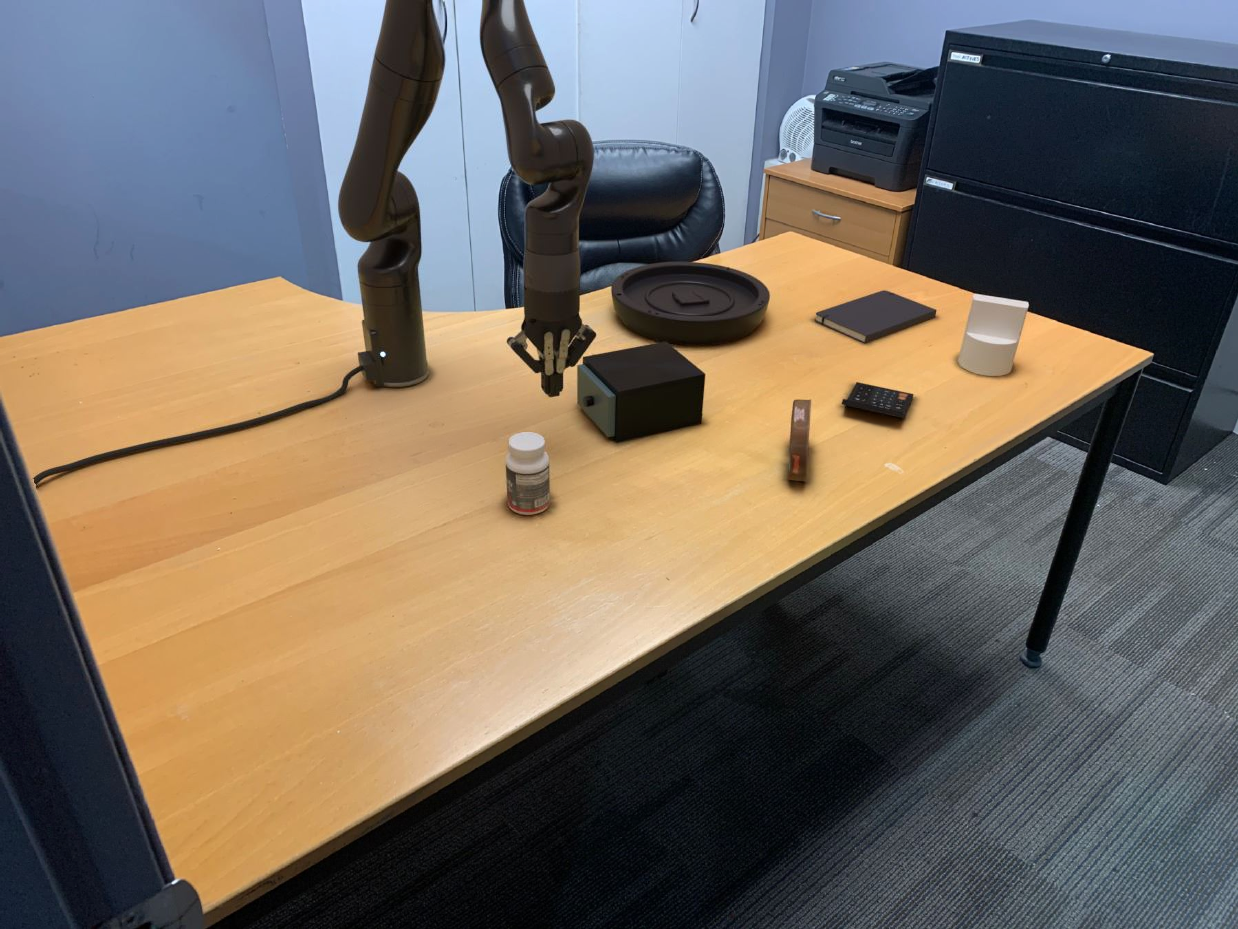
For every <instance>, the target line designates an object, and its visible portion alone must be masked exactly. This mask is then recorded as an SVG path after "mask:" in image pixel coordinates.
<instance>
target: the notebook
mask: <svg viewBox="0 0 1238 929" xmlns="http://www.w3.org/2000/svg"><path fill="white" fill-rule="evenodd" d="M937 311H938V310H937V309H935V308H934V307H931V306H928V305H926V304H923V303H920V302H917V301H915V300H912V299H910V298H907V297H904V296H902V295H899V294H897V293H895V292H891V291H889V290H886V289H885V290H879V291H877V292H873V293H870V294H867V295H864V296H862V297H858V298H855V299H852V300H849V301H846V302H842V303H840V304H838V305H835V306H831V307H829V308H825V309H823V310H820V311H817V312H815V315H816V318H815V319H814V321H815V323H818V324H820V325H822V326H825V327H827V328H830V329H831V330H834V331H836V332H839V333H841V334H843V335H845V336H847V337H850V338H851V339H855V340H856V341H859V342H861V343H864V344H866V343H870V342H872V341H875V340H878V339H880V338H883V337H885V336H888V335H890V334H893V333H896V332H899V331H901V330H904V329H907V328H910V327H912V326H915V325H917V324H920V323H923V322H925V321H928V320H931V319H934V318H936V315H937Z"/></svg>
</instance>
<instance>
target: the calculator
mask: <svg viewBox="0 0 1238 929" xmlns="http://www.w3.org/2000/svg"><path fill="white" fill-rule="evenodd" d="M913 399H914V393H910V392H905V391H900V390H897V389H892V388H887V387H882V386H877V385H872V384H869V383H863V382H860V381H859V382H858V381H856V382H855V384H854V386H853V387H852V389H851V391H850V393H849V395H848V397H847V399H846V398H842V401H841V405H843V406H847V407H852V408H855V409H859V410H860V409H861V410H865V411H870V412H874V413H879V414H883V415H887V416H893V417H896V418H900V419H905V418H906V416H907V414H908V411H909V408H910V406H911V404H912V401H913Z"/></svg>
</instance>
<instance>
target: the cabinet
mask: <svg viewBox="0 0 1238 929" xmlns="http://www.w3.org/2000/svg"><path fill="white" fill-rule="evenodd" d="M582 364H585V365H586V366H587V367H588V368H589V369H590V370H591V371H592V372H593V373H595V374H596V375H597V376H598V377H599V378H600V379H601V380H602V381H603V382H604V383H605V384H606V385H607V386H608V387H609V388H610V389H611V390H612V391H613V392H614V393H615V394H616V410H615V436H611V437H610V438H612V440H614V442H615V443H617V444H618V443H622V442H627V441H632V440H636V439H639V438H644V437H645V438H646V437H649V436H652V435H657V434H663V433H667V432H671V431H676V430H680V429H684V428H688V427H692V426H697V425H701V424H702V420H703V411H704V410H703V409H704V398H705V384H706V373H705V372H704V371H703V370H701V369H700V368H699V367H698V366H697V365H695V363H693V362H692V361H691V360H689V359H688V358H687V357H685V356H684V355H683V354H682V353H681V352H679V351H678V350H677V349H676V348H675V347H674V346H672V345H671V343H667V342H666V341H665V342H662V341H659V342H655V343H650V344H645V345H638V346H633V347H627V348H622V349H618V350H613V351H606V352H600V353H596V354H590V355H584V356H582Z"/></svg>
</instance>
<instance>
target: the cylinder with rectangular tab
mask: <svg viewBox="0 0 1238 929" xmlns="http://www.w3.org/2000/svg"><path fill="white" fill-rule="evenodd" d="M1029 306H1030V304H1029V302H1028V301H1024V300H1018V299H1012V298H1005V297H998V296H992V295H987V294H981V293H980V294H979V293H974V294H973V296H972V299H971V304H970V308H969V313H968V316H967V321H966V324H965V325H966V326H965V329H964V333H963V336H962V337H963V338H962V342H961V345H960V349H959V354H958V358H957V363H958V365H959V366H960V367H961V368H963V369H964V370H966V371H967V372H970V373H972V374H976V375H979V376H980V375H981V376H987V377H1001V376H1002V377H1003V376H1005V375H1008V374H1009V373H1011V371H1012V368H1013V365H1014V361H1015V357H1016V354H1017V350H1018V346H1019V342H1020V339H1021V336H1022V332H1023V328H1024V325H1025V321H1026V317H1027V314H1028V310H1029Z"/></svg>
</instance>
